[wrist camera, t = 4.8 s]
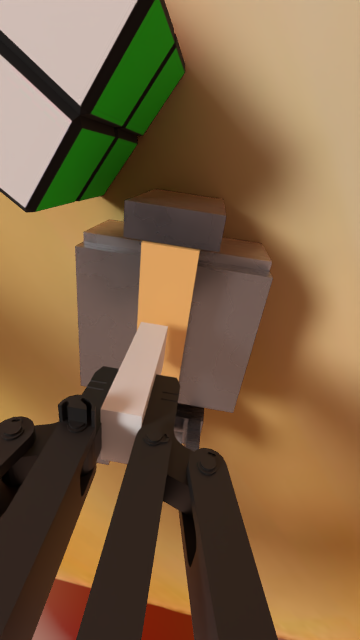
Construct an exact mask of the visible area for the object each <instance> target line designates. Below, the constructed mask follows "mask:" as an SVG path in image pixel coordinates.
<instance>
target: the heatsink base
mask: <svg viewBox="0 0 360 640" xmlns="http://www.w3.org/2000/svg"><path fill="white" fill-rule="evenodd" d="M225 220H226V211H225V206H224V200H223V199H220V198H213V197H206V196H200V195H193V194H187V193H180V192H173V191H167V190H160V189H154V190H152V191H149V192H146V193H143V194H140V195H138V196H135V197H132V198H129V199H127V200H125V207H124V222H122V221H116V220H107V221H105V222H103V223H101V224H99V225H97V226H95V227H93V228H91V229H89V230H87V231H85V232H84V242H82V243H80V244H78V245H77V246H75V253H76V277H77V302H78V327H79V352H80V376H81V386H86V387H87V385H88V384H89V382H90V381H91V378H92V377H93V375H94V373H95V372H96V371H97V370H99V369H100V368H101V367H103V366H106V367H112V368H118V369H119V368H120V366H121V364H122V362H123V360H124V358H125V356H126V353H127V351H128V349H129V347H130V345H131V343H132V341H133V338H134V336H135V334H136V332H137V319H138V299H139V280H140V261H141V242H142V241H143V240H144V241H150V242H157V243H163V244H169V245H175V246H182V247H188V248H194V249H200V252H199V259H198V265H197V271H196V277H195V283H194V290H193V296H192V302H191V308H190V314H189V320H188V327H187V333H186V339H185V345H184V351H183V357H182V364H181V370H180V376H179V384H180V391H179V398H178V404H177V411H176V417H175V424H174V431H178V432H183V436H182V444H184V446H185V447H186V448H188V449H190V450H192V451H196V450H197V449H199V442H200V433H201V429H202V425H203V417H204V408H209V409H214V410H220V411H226V412H231V413H233V411H234V408H235V405H236V401H237V398H238V395H239V391H240V388H241V384H242V381H243V378H244V374H245V371H246V367H247V364H248V361H249V357H250V354H251V351H252V347H253V344H254V340H255V337H256V334H257V330H258V327H259V324H260V320H261V317H262V313H263V310H264V307H265V303H266V300H267V296H268V293H269V290H270V286H271V283H272V280H273V277H272V275H271V273H270V268H271V264H272V261H271V259H270V257H269V256H268V254H267V252H266V250H265V249H264V247H263V245H262V243H256V242H250V241H243V240H237V239H231V238H224V237H222V236H223V231H224V225H225ZM96 463H102V464H107V465H109V463H110V461H108V460H102V459H101V452H100V454H99V457H98V459H97V462H96Z"/></svg>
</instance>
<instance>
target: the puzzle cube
mask: <svg viewBox="0 0 360 640" xmlns="http://www.w3.org/2000/svg"><path fill="white" fill-rule="evenodd" d="M184 73H185V63H184V59H183V56H182V53H181V50H180V47H179V44H178V40H177V37H176V34H175V33H174V28H173V25H172V22H171V19H170V16H169V13H168V10H167V7H166V4H165V1H164V0H0V192H2V193H3V194H4V195H5V196H6V197H8V198H9V199H10V200H11V201H13V202H14V203H15V204H16V205H18V206H19V207H20V208H21V209H23V210H24V211H25V212H36V211H40V210H44V209H48V208H52V207H56V206H60V205H64V204H68V203H72V202H75V201H81V200H85V199H89V198H94V197H98V196H102V195H104V194H105V192H106V191H107V189H108V188H109V186H110V185H111V183H112V182H113V180H114V179H115V177H116V176H117V174H118V173H119V171H120V170H121V168H122V167H123V165H124V164H125V162H126V161H127V159H128V158H129V156H130V155H131V153H132V152H133V150H134V149H135V147H136V146H137V144H138V142H137V136H142V135H144V133H145V132H146V130H147V129H148V127H149V126H150V124H151V123H152V121H153V120H154V118H155V117H156V115H157V114H158V112H159V111H160V109H161V108H162V106H163V105H164V103H165V102H166V100H167V99H168V97H169V96H170V94H171V93H172V91H173V90H174V88H175V87H176V85H177V84H178V82H179V81H180V79H181V78H182V76H183V75H184Z"/></svg>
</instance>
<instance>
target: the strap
mask: <svg viewBox="0 0 360 640" xmlns="http://www.w3.org/2000/svg"><path fill="white" fill-rule="evenodd" d="M199 252H200V249H194V248H188V247H182V246H175V245H169V244H163V243H157V242H150V241H144V240H143V241H142V242H141V261H140V280H139V299H138V319H137V330H138V328H139V325H140V323H141V322H145V323H151V324H157V325H163V326H168V330H167V338H166V346H165V354H164V362H163V368H162V372H161V375H163V376H169V377H175V378H177V379H178V381H179V376H180V370H181V364H182V357H183V351H184V345H185V339H186V333H187V327H188V320H189V314H190V308H191V302H192V296H193V290H194V283H195V277H196V271H197V265H198V259H199ZM174 434H175V437H176V439H177V440H178V441H179V442H180V443H182V436H183V432H178V431H174Z"/></svg>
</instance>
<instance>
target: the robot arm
mask: <svg viewBox="0 0 360 640" xmlns="http://www.w3.org/2000/svg"><path fill="white" fill-rule="evenodd" d="M167 330H168V326H163V325H157V324H151V323H145V322H141V323H140V325H139V328H138V330H137V332H136V334H135V336H134V338H133V341H132V343H131V345H130V347H129V349H128V351H127V353H126V356H125V358H124V360H123V362H122V364H121V366H120V368H119V369H118V368H112V367H106V366H103V367H101V368H100V369H99V370H97V371H96V372H95V373H94V375H93V377H92V378H91V381H90V382H89V384H88V385H87V388H86V389H85V391H84V392H83V394H82V395H74V396H70V397H67V398H66V399H64V400H62V401H61V402H60V403H59V404H58V410H59V421H60V422H57V423H53V424H46V425H36V426H34V424H33V421H31V420H30V419H29V418H26V417H12V418H10V419H7V420H4V421H3V422H1V423H0V640H32V637H33V634H34V632H35V630H36V627H37V624H38V622H39V619H40V616H41V614H42V611H43V609H44V606H45V603H46V601H47V598H48V596H49V593H50V590H51V588H52V585H53V582H54V580H55V577H56V575H57V572H58V569H59V567H60V564H61V562H62V559H63V556H64V554H65V551H66V549H67V546H68V543H69V541H70V538H71V535H72V533H73V530H74V528H75V525H76V522H77V520H78V517H79V515H80V512H81V509H82V507H83V504H84V501H85V499H86V496H87V494H88V491H89V488H90V486H91V483H92V481H93V478H94V475H95V473H96V462H97V459H98V457H99V454H100V452H101V459H102V460H108V461H114V462H119V463H125V464H128V465H127V468H126V471H125V475H124V478H123V482H122V485H121V488H120V492H119V495H118V499H117V502H116V506H115V509H114V512H113V516H112V519H111V523H110V526H109V529H108V533H107V536H106V540H105V543H104V547H103V550H102V553H101V557H100V560H99V564H98V567H97V570H96V574H95V577H94V581H93V584H92V588H91V591H90V594H89V598H88V602H87V605H86V608H85V611H84V615H83V618H82V622H81V625H80V629H79V632H78V636H77V639H76V640H141V637H142V631H143V625H144V617H145V611H146V605H147V599H148V592H149V586H150V580H151V573H152V567H153V560H154V554H155V547H156V541H157V535H158V528H159V522H160V515H161V509H162V502H163V501H164V502H166V503H168V504H169V505H171V506H173V507H174V508H176V509H178V510H179V518H180V526H181V534H182V542H183V550H184V558H185V566H186V575H187V583H188V591H189V599H190V607H191V615H192V624H193V632H194V639H195V640H278V638H277V635H276V631H275V628H274V625H273V621H272V618H271V615H270V611H269V608H268V604H267V601H266V598H265V594H264V591H263V587H262V584H261V581H260V577H259V574H258V570H257V567H256V564H255V560H254V557H253V553H252V550H251V547H250V543H249V540H248V536H247V533H246V530H245V526H244V523H243V519H242V516H241V513H240V509H239V506H238V502H237V499H236V496H235V492H234V489H233V485H232V482H231V479H230V475H229V472H228V468H227V465H226V463H225V461H224V459H223V457H222V456H221V455H220V454H219V453H218V452H216V451H214V450H212V449H207V448H201V449H197V450H196V451H192V450H190V449H188V448H186V447H185V446H183V445H182V444H181V443H180V442H179V441H178V440H177V439H176V437H175V434H174V424H175V417H176V411H177V404H178V398H179V391H180V384H179V381H178V379H177V378H175V377H169V376H163V375H161V372H162V368H163V362H164V354H165V346H166V338H167Z"/></svg>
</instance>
